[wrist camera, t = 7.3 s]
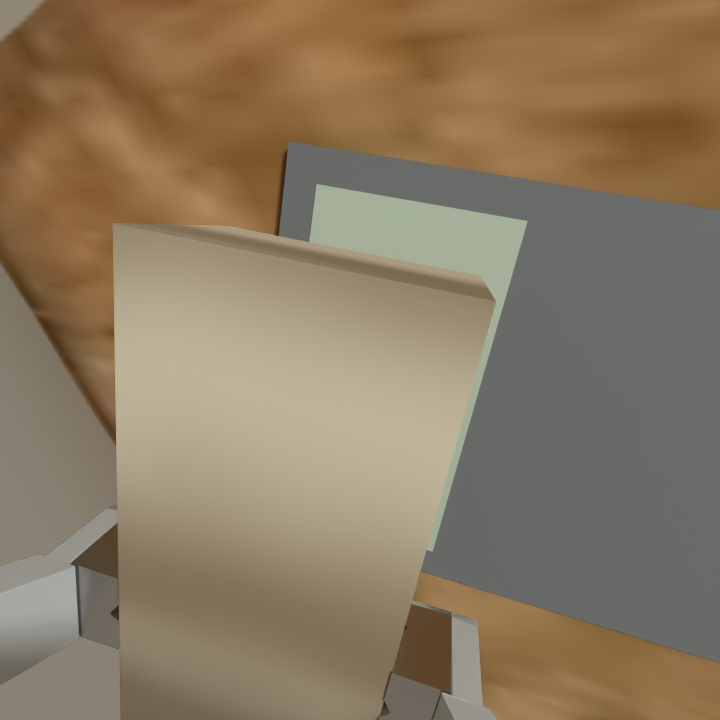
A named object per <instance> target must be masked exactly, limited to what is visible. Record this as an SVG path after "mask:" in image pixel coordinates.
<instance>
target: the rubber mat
mask: <svg viewBox="0 0 720 720" xmlns="http://www.w3.org/2000/svg"><path fill="white" fill-rule="evenodd" d="M279 236H281V237H286V238H291V239H296V240H301V241H306V242H311V243H316V244H321V245H326V246H331V247H336V248H341V249H347V250H352V251H357V252H362V253H367V254H372V255H377V256H382V257H387V258H392V259H397V260H402V261H407V262H412V263H418V264H423V265H428V266H433V267H438V268H443V269H448V270H453V271H458V272H463V273H468V274H473V275H478V276H481V277H482V279H483V280H484V282H485V284H486V285H487V287H488V289H489V290H490V292H491V294H492V295H493V297H494V299H495V300H496V304H495V308H494V311H493V315H492V319H491V322H490V326H489V329H488V333H487V336H486V340H485V343H484V347H483V351H482V354H481V358H480V361H479V365H478V368H477V372H476V375H475V379H474V383H473V386H472V390H471V393H470V397H469V400H468V404H467V408H466V411H465V415H464V418H463V422H462V425H461V429H460V432H459V436H458V440H457V443H456V447H455V450H454V454H453V457H452V461H451V464H450V468H449V472H448V475H447V479H446V482H445V486H444V489H443V493H442V496H441V500H440V504H439V507H438V511H437V514H436V518H435V521H434V525H433V528H432V532H431V536H430V539H429V543H428V546H427V550H426V553H425V557H424V560H423V564H422V568H421V571H423V572H426V573H429V574H432V575H436V576H439V577H442V578H445V579H449V580H452V581H455V582H458V583H462V584H465V585H468V586H471V587H475V588H478V589H481V590H484V591H488V592H491V593H494V594H498V595H501V596H504V597H507V598H511V599H514V600H517V601H520V602H524V603H527V604H530V605H533V606H537V607H540V608H543V609H546V610H550V611H553V612H556V613H559V614H563V615H566V616H569V617H572V618H576V619H579V620H582V621H585V622H589V623H592V624H595V625H598V626H602V627H605V628H608V629H611V630H615V631H618V632H621V633H624V634H628V635H631V636H634V637H637V638H641V639H644V640H647V641H650V642H654V643H657V644H660V645H663V646H667V647H670V648H673V649H676V650H680V651H683V652H686V653H690V654H693V655H696V656H699V657H703V658H706V659H709V660H712V661H716V662H719V663H720V211H719V210H712V209H706V208H700V207H694V206H688V205H681V204H675V203H669V202H663V201H657V200H650V199H644V198H638V197H632V196H626V195H619V194H613V193H607V192H601V191H594V190H588V189H582V188H576V187H570V186H563V185H557V184H551V183H545V182H539V181H532V180H526V179H520V178H514V177H507V176H501V175H495V174H489V173H483V172H476V171H470V170H464V169H458V168H452V167H445V166H439V165H433V164H427V163H420V162H414V161H408V160H402V159H396V158H389V157H383V156H377V155H371V154H365V153H358V152H352V151H346V150H340V149H333V148H327V147H321V146H315V145H309V144H302V143H296V142H290V141H289V144H288V153H287V163H286V172H285V181H284V191H283V200H282V210H281V219H280V229H279Z"/></svg>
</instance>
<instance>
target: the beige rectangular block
mask: <svg viewBox="0 0 720 720" xmlns="http://www.w3.org/2000/svg"><path fill="white" fill-rule="evenodd" d="M113 264H114V327H115V390H116V453H117V516H118V576H119V601H120V604H119V622H120V699H121V700H120V701H121V702H120V706H121V720H378V718H379V716H380V713H381V710H382V706H383V703H384V697H385V694H386V690H387V687H388V683H389V680H390V676H391V673H392V671H393V667H394V664H395V660H396V656H397V653H398V649H399V646H400V642H401V639H402V635H403V632H404V628H405V624H406V621H407V617H408V614H409V610H410V607H411V603H412V600H413V596H414V592H415V589H416V585H417V582H418V578H419V575H420V571H421V568H422V564H423V560H424V557H425V553H426V550H427V546H428V543H429V539H430V536H431V532H432V528H433V525H434V521H435V518H436V514H437V511H438V507H439V504H440V500H441V496H442V493H443V489H444V486H445V482H446V479H447V475H448V472H449V468H450V464H451V461H452V457H453V454H454V450H455V447H456V443H457V440H458V436H459V432H460V429H461V425H462V422H463V418H464V415H465V411H466V408H467V404H468V400H469V397H470V393H471V390H472V386H473V383H474V379H475V375H476V372H477V368H478V365H479V361H480V358H481V354H482V351H483V347H484V343H485V340H486V336H487V333H488V329H489V326H490V322H491V319H492V315H493V311H494V308H495V304H496V300H495V299H494V297H493V295H492V294H491V292H490V290H489V289H488V287H487V285H486V284H485V282H484V280H483V279H482V277H481V276H478V275H473V274H468V273H463V272H458V271H453V270H448V269H443V268H438V267H433V266H428V265H423V264H418V263H412V262H407V261H402V260H397V259H392V258H387V257H382V256H377V255H372V254H367V253H362V252H357V251H352V250H347V249H341V248H336V247H331V246H326V245H321V244H316V243H311V242H306V241H301V240H296V239H291V238H286V237H281V236H275V235H270V234H265V233H260V232H255V231H250V230H245V229H240V228H235V227H230V226H207V225H167V224H127V223H113Z"/></svg>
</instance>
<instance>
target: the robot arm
mask: <svg viewBox="0 0 720 720" xmlns="http://www.w3.org/2000/svg"><path fill="white" fill-rule="evenodd" d="M119 604H120V601H119V576H118V516H117V506H112V507H108V508H106V509H105V510H103V511H102V512H101V513H99V514H98V515H97V516H96V517H94V518H93V519H92V520H91V521H89V522H88V523H87V524H86V525H84V526H83V527H82V528H81V529H79V530H78V531H77V532H75V533H74V534H73V535H72V536H70V537H69V538H68V539H67V540H65V541H64V542H63V543H62V544H60V545H59V546H58V547H57V548H55V549H54V550H53V551H51V552H50V553H49V554H48V555H46V556H45V555H42V554H37V555H35V556H31V557H28V558H26V559H22V560H19V561H17V562H13V563H11V564H8V565H5V566H1V567H0V685H2V684H3V683H5V682H7V681H8V680H10V679H12V678H14V677H15V676H17V675H19V674H20V673H22V672H24V671H26V670H27V669H29V668H31V667H33V666H34V665H36V664H37V663H39V662H41V661H43V660H44V659H46V658H48V657H50V656H51V655H53V654H55V653H56V652H58V651H60V650H62V649H63V648H65V647H67V646H69V645H70V644H72V643H74V642H75V641H77V640H79V636H80V637H84V638H86V639H90V640H92V641H96V642H98V643H101V644H105V645H108V646H111V647H113V648H116V649H119V648H120V622H119ZM378 720H497V719H496V717H495V715H494V713H493V712H492V710H491V709H489V708H487V707H484V706H483V703H482V687H481V671H480V656H479V640H478V625H477V623H476V620H475V619H472V618H468V617H465V616H462V615H458V614H455V613H452V612H450V613H449V611H446V610H442V609H439V608H436V607H433V606H429V605H426V604H423V603H419V602H416V601H413V600H412V603H411V607H410V610H409V614H408V617H407V621H406V624H405V628H404V632H403V635H402V639H401V642H400V646H399V649H398V653H397V656H396V660H395V664H394V667H393V671H392V673H391V676H390V680H389V683H388V687H387V690H386V694H385V697H384V703H383V706H382V710H381V713H380V716H379V718H378Z"/></svg>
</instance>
